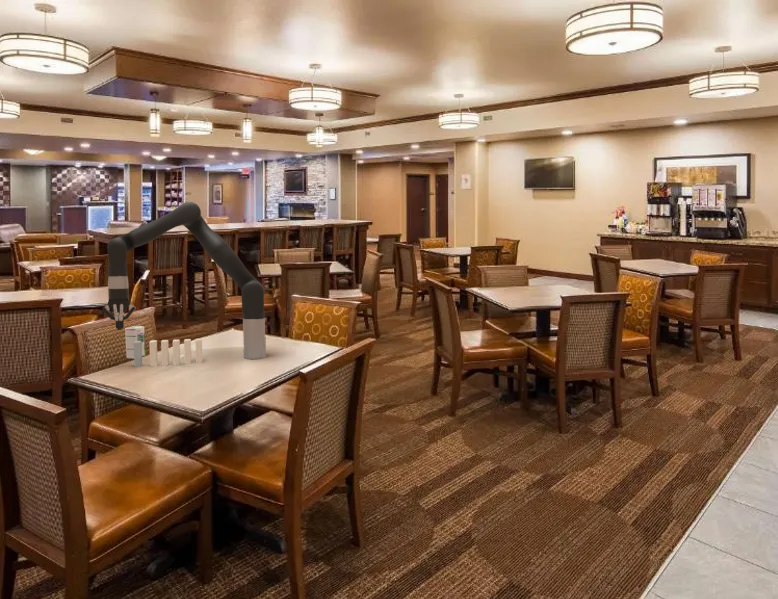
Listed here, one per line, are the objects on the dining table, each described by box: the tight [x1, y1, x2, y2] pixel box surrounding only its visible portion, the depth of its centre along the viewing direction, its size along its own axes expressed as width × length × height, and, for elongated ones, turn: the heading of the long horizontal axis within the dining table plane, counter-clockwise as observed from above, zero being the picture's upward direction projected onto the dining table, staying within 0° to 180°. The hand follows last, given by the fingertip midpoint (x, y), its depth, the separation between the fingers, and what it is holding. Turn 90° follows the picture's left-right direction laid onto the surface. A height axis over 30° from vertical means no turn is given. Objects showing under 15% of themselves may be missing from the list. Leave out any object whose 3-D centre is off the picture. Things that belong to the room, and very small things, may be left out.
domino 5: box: [183, 338, 192, 365], centre depth 250 cm, size 2×5×10 cm, turn 16°
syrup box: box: [124, 325, 147, 359], centre depth 259 cm, size 6×6×14 cm
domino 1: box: [133, 341, 143, 368], centre depth 245 cm, size 2×5×10 cm, turn 16°
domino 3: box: [160, 339, 170, 367], centre depth 247 cm, size 2×5×10 cm, turn 16°
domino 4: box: [172, 339, 181, 366], centre depth 249 cm, size 2×5×10 cm, turn 16°
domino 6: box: [194, 338, 203, 364], centre depth 251 cm, size 2×5×10 cm, turn 16°
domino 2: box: [148, 339, 158, 367], centre depth 246 cm, size 2×5×10 cm, turn 16°
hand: (119, 329), depth 242 cm, fingers closed
